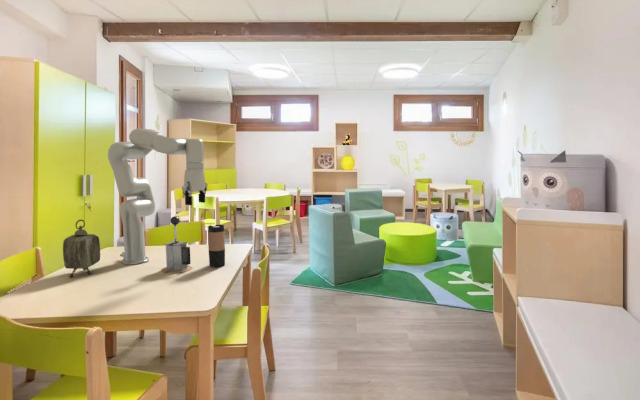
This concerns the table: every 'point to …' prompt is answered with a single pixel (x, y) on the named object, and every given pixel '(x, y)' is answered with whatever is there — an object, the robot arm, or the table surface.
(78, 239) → the tabletop clock
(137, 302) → the table surface
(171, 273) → the disc
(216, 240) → the travel mug
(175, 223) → the plunger
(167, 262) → the grey slotted housing
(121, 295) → the table surface
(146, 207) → the robot arm
